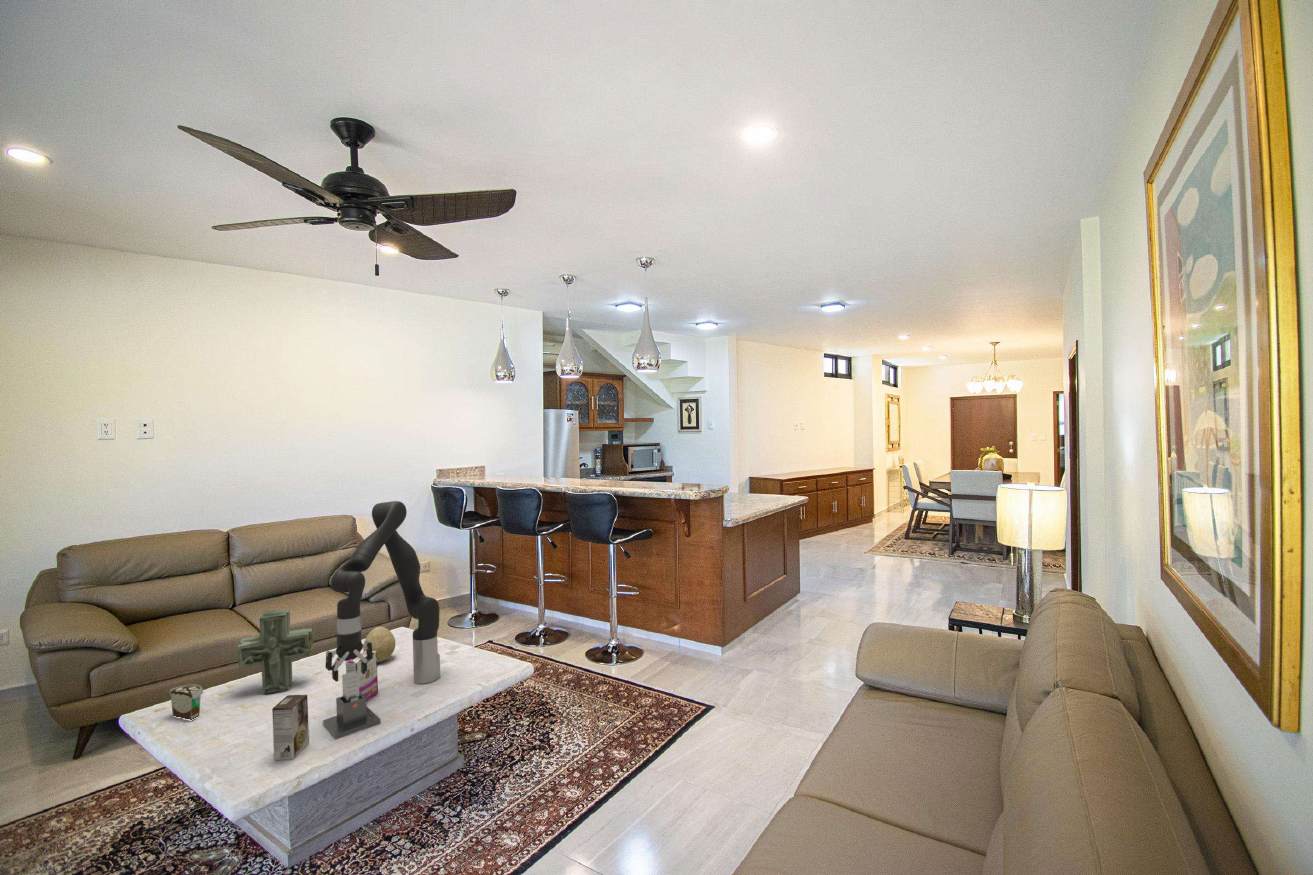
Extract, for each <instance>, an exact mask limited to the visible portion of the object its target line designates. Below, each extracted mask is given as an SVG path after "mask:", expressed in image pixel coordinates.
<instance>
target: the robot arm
mask: <svg viewBox="0 0 1313 875" xmlns="http://www.w3.org/2000/svg"><path fill="white" fill-rule="evenodd" d="M407 514H408V513H407V508H406V504H404V503H403V502H402V501H400V500H399V501H398V500H391V501H385V502H384V501H383V502H379V503H376V504H374V506H373V507H372V510H371V518H372V522H373V523H374V526H375V528H376V529H375V530H374V531H373V532H371V534H370V535H368V536H367V537H366V538H365V539H363V540H362V541H361V542H360V543H359V544H358V546H357V548H356V549H355V551H354V552H353V553H352V555H351V557H350V558H349V559H348V560H347V561H346V562H345V563H343V565H341V566H340V567H339V568H338V569H337V570H336V571H335V572H334V574H332V577H331V579H330V587H331V589H332V590H333V591H334V592H335V593H348V596H347V597H346V598H343V599H340V600H339V601H337V604H336V617H337V619H336V648H335V650H331V651H330V650H327V651H325V652H326V653H325V669H326V670H327V671H329V672H331V674H332V675H331V678H332V680H333V681H335V682H339V670H338V669H339V668H340V666H342V664H343V663H344V661H345V662H347V661H348V660H350V659H355V658H356V657H358V658H359V659H360V660H362V662H361V673H362V674H365V672H366V671H367V662H368V661H369V660H371V659H373V653H372V643H371V642H369V641H367V642H366V643H364V642H363V643H362V640H363V639H362V618H361V600H362V596H363V592H364V589H365V586H366V577H365V575H364V574H363V572H366V571H367V570H368V569H369V568H370V567H371V566H372V564H373V562H374V560H375V559H376V557H377V555H378V553H379V552H380V550H381V549H382V547H384V546H385V548H386V551H387V554H388V556H389V559H390V561H391V564H392V568H393V569H394V572H395V574H396V577H397V579H398V582H399V586H400V587H401V590H402V592H403V596H404V600H405V604H406V609H407V612H408V614H409V615H410V617H412V618H413V619H416V620H417V621H418V623H417V628H415V629H413V631H412V658H413V659H412V660H413V661H412V662H413V664H412V665H413V667H412V668H413V682H414V683H415V684H418V685H419V684H420V685H421V684H430V683H432V682H435V681H437V680H438V679H440V678H441V654H440V653H439V651H438V647H439V646H438V631H439V627H440V604H439V602H438V600H437V599H436V598H435V597H434V598H433V597H430V596H427V595H426V594H425V593H424V591H423V589H422V588H423V587H422V586H421V583H420V575H421V564H420V561H419V558H418V556H417V552H416V550H415V549H414V547H413V546H412V545H411V544H409V542H407V540H405V539H404V538H403V537H402V536H401V535H400V534H399V532H398V530H397V529H398V528H400V526H401V525H403V523H404V521H405V520H406V517H407ZM363 647H364V648H365V649H366V653H367V656H366V657H364V656H363V655H362V654H361V653H362V652H361V651H362V650H363ZM335 655H337V657H336V659H335V660H334V663H333V658H335Z"/></svg>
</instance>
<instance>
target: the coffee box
mask: <svg viewBox="0 0 1313 875" xmlns="http://www.w3.org/2000/svg"><path fill="white" fill-rule="evenodd" d="M308 706H309V705H308V694H290V695H288V694H287V695H286V696H285V697H284V698H282V700H280V701H279V702H278V703H276V705H275V706H274V707H273V708H271V709H272V712H271V713H272V737H273V738H272V741H273V742H272V743H273V745H272V746H273V760H274V761H279V760H294V759H296V758H297V757H298V756H299V755H300V753H302V752H303V751H304V749H305V748H306V747H307V746H308V745H309V744H310V735H309V734H310V730H309V728H310V727H309V707H308Z"/></svg>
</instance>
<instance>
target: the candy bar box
mask: <svg viewBox="0 0 1313 875" xmlns="http://www.w3.org/2000/svg"><path fill="white" fill-rule="evenodd" d="M360 653H361V654H362V655H363V656H364V657H366V656H367V653H366V651H365V652H364V651H363V652H360ZM372 653H373V659H371V660H369V661H368V662H367V671H366V672H365V674H362V673H361V662H362V660H360V659H359V658H358V657H356V658H355V659H350V660H348V661H345V674H347V673H350V672H354V671H355V672H356V673H358V674H359V692H360V693H361V694H363V695H364V696H365V697H366V702H367V701H369V700H370V699H372V698H373V697H374V696H376V695H377V694H379V684H378V681H379V680H378V679H379V678H378V662H377V655H376V651H372Z"/></svg>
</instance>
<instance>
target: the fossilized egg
mask: <svg viewBox="0 0 1313 875" xmlns="http://www.w3.org/2000/svg"><path fill="white" fill-rule="evenodd" d="M367 641H369V642H371V643H372V651H376V655H377V663H382V662H384V661H387V660H388V659H389V658H390V657H391V656H392V655H393V653H394V651H395V650H396V638H395V636H394V634H393V632H392V631H390V630H389V629H388V628H387V627H384V626H377V627H374V628H373V629H372V630H371V631H369V633H368V634H367V635H366V637H365V639H364V640H363V643H366V642H367ZM362 650H363V652H365V651H366V649H365V648H364V647H363V649H362Z"/></svg>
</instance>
